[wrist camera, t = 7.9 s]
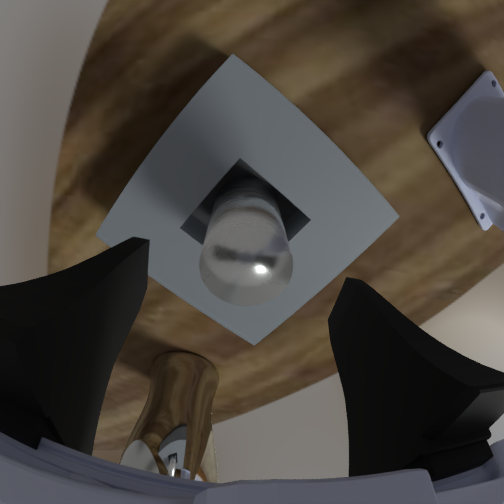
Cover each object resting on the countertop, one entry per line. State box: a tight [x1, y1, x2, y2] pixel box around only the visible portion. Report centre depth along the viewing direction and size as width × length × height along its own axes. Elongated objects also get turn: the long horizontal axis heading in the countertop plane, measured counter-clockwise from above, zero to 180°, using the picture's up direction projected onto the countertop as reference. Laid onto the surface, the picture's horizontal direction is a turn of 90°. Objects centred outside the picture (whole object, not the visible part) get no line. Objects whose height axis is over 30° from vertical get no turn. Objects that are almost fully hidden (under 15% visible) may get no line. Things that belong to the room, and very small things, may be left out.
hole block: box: [96, 54, 400, 345], centre depth 17 cm, size 12×12×3 cm
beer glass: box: [119, 352, 219, 483], centre depth 19 cm, size 7×7×15 cm
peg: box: [199, 176, 293, 306], centre depth 15 cm, size 4×4×7 cm
